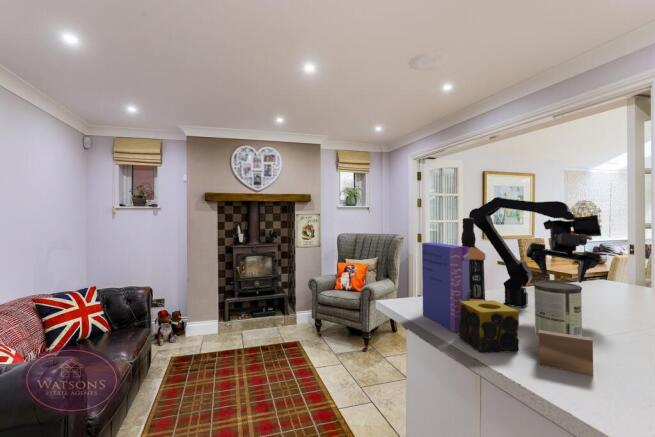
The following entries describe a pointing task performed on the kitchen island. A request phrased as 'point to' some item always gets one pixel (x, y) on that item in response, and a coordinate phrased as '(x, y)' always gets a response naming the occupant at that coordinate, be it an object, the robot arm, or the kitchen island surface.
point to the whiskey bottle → (474, 262)
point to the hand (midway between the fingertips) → (562, 278)
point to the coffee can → (558, 307)
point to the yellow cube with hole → (489, 326)
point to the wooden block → (566, 352)
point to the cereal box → (445, 283)
